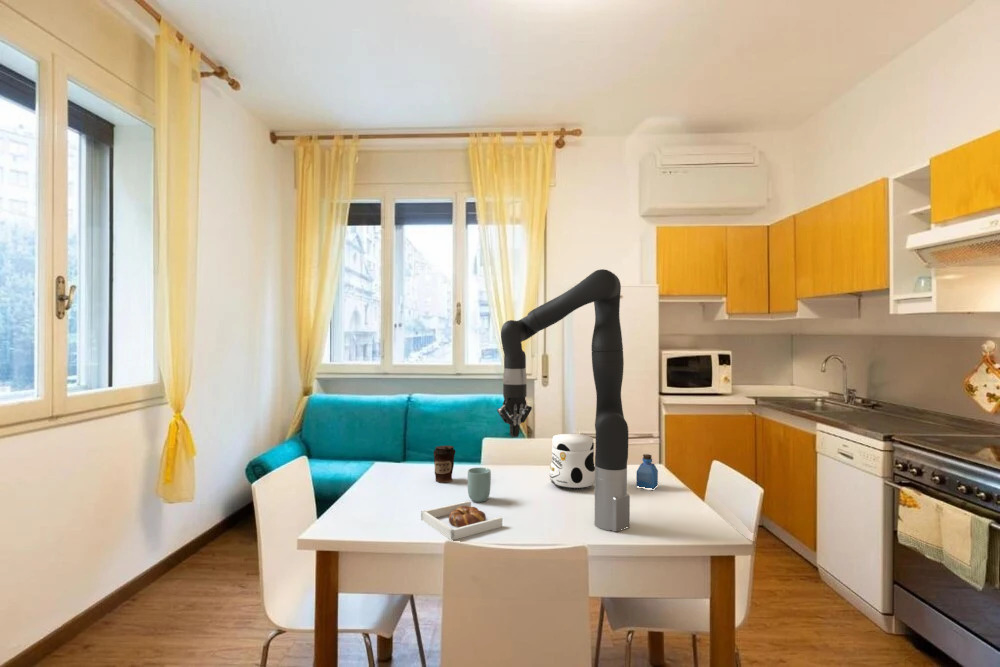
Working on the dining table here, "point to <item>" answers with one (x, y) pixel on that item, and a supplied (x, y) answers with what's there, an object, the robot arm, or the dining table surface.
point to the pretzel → (466, 516)
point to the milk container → (572, 461)
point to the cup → (479, 484)
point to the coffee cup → (444, 463)
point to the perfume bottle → (647, 473)
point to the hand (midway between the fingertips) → (514, 436)
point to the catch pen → (460, 532)
